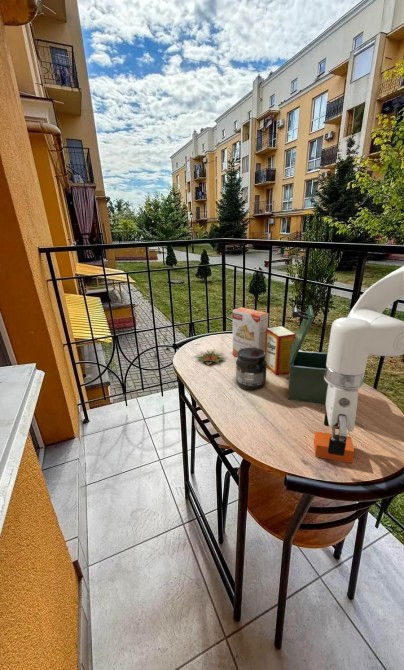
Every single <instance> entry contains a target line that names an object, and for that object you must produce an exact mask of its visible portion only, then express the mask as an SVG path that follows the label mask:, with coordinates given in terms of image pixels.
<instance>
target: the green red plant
mask: <svg viewBox="0 0 404 670" xmlns="http://www.w3.org/2000/svg"><path fill="white" fill-rule="evenodd" d="M221 356H222V354H218V353H215V351H214V350H212V351H210V350H209V349H208V350H206V352H205V353H203V354H202V355H200V356H198V357H197V356H196V359H199V363H203V362H204V363H205V364H206V365H207V366H209V365H210V364H213V363H214V362H215V363H217V364H220V361H224V360H225V358H223V357H221Z"/></svg>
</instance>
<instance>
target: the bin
mask: <svg viewBox="0 0 404 670" xmlns="http://www.w3.org/2000/svg"><path fill="white" fill-rule="evenodd" d="M327 355H328V352H316V351H305V350H299V351H298V353H297V356H296V358H295V360H294V362H293V364H292V365H290V371H289V375H288V387H287V388H288V389H287V390H288V391H287V400H289V401H297V402H304V403H312V404H320V405H326V395H327V388H328V383H327V382H326V381H325V380H324V375H325V368H326V362H327Z"/></svg>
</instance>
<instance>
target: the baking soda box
mask: <svg viewBox="0 0 404 670" xmlns="http://www.w3.org/2000/svg"><path fill="white" fill-rule="evenodd" d="M295 336H296V333H295V332H293V331H291V330H289V329H288V328H286V327H284V326H283V325H280V326H273V327H268V328H266V345H265V353H266V359H265V360H266V361H267V366H266V369H268V370H269V371H271V373H273V374H274V375H275V376H276V377H277V376H282V375H283V376H284V375H288V374H289V371H290V365H289V364H290V348H291V346H292V343H293V341H294V339H295Z"/></svg>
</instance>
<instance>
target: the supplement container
mask: <svg viewBox="0 0 404 670" xmlns="http://www.w3.org/2000/svg"><path fill="white" fill-rule="evenodd" d="M265 359H266V353H265V352H264V351H263V350H261V349H258V348H243V349H241V350H239V351H238V353H237V359H236V360H235V369H236V370H235V372H236V373H235V381H236V385H237V386H238V387H239V388H241V389H242V390H246V391H247V390H248V391H257V390H261V389H263V388H264V387H265V386H266V385H267V384H266V383H267V367H266V366H267V361H266V360H265Z"/></svg>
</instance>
